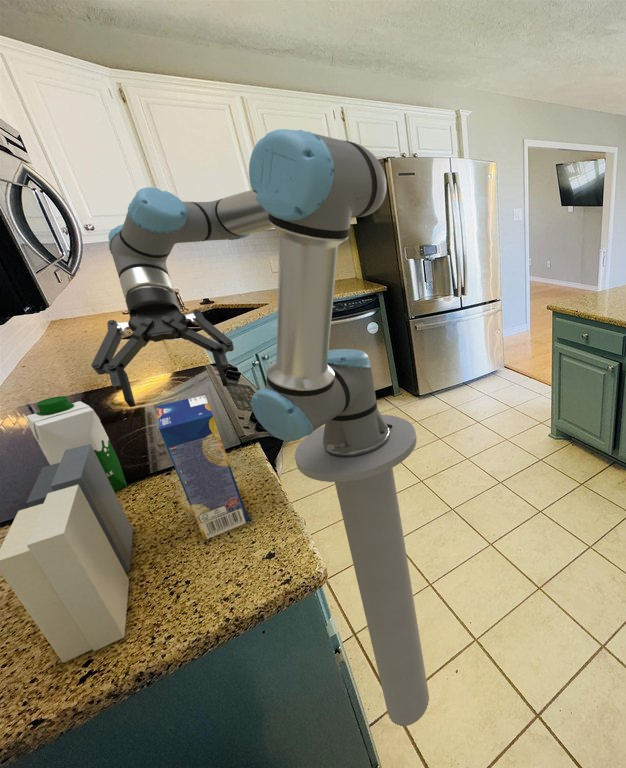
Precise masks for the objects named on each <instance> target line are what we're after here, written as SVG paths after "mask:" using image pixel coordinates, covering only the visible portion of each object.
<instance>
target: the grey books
mask: <svg viewBox="0 0 626 768" xmlns="http://www.w3.org/2000/svg"><path fill="white" fill-rule="evenodd" d="M75 485H79V486H80V488H81V490H82V492H83V494H84V496H85V498H86V499H87V501H88V503H89V505H90V507H91V509H92V511H93V513H94V515H95V516H96V518H97V520H98V522H99V524H100V526H101V528H102V530H103V532H104V533H105V535H106V537H107V539H108V541H109V543H110V545H111V547H112V549H113V550H114V552H115V554H116V556H117V558H118V560H119V562H120V564H121V565H122V567H123V569H124V571H125V573H126V574H127V573H130V571H131V563H132V550H133V539H134V538H133V536H134V528H133V526H132V524H131V521H130V520H129V519H128V516H127V515H126V513H125V511H124V510H125V509H123V507H122V504H121V502H120V500H119V498H118V496H117V494H116V491H114V490H113V488H112V486H111V484H110V482H109V480H108V478H107V476H106V474H105V472H104V470H103V468H102V466H101V464H100V462H99V459H98V457H97V455H96V453H95V451H94V449H93V447H92V445H91V444H88V445H84V446H80V447H76V448H72V449H68V450H65V452H64V455H63V457H62V459H61V462H60V463H56V464H53V465H50V464H49V465H46V466H42V468H41V470H40V472H39V474H38V476H37V479H36V481H35V483H34V485H33V488H32V489H31V491H30V493H29V495H28V498H27V500H26V502H25V504H26V505H27V506H28V507H27V508H30V507H33V506H36V505H40V504H43V503H44V501H45V499H46V496H47V494H48V493H51V492H54V491H58V490H61V489H65V488H68V487H72V486H75Z"/></svg>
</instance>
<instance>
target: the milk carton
mask: <svg viewBox="0 0 626 768" xmlns="http://www.w3.org/2000/svg"><path fill="white" fill-rule="evenodd" d="M36 406H37V409H38V410H39V411H37V412H35V413H32V414H28V415H26V419H27V422H28V425H29V428H30V430H31V432H32V434H33V436H34V438H35V440H36V441H37V443H38V447H40V450H41V451H42V453H43V455H44V457H45V458H46V461H47V462H48V464H49V465H53V464H56V463H60V462H61V459H62V457H63V455H64V452H65V450H68V449H72V448H76V447H80V446H84V445H88V444H91V445H92V447H93V449H94V451H95V453H96V455H97V457H98V459H99V462H100V464H101V466H102V468H103V470H104V472H105V474H106V476H107V478H108V480H109V482H110V484H111V486H112V488H113V490H114V492H116V491H119V490H122V489H123V488H126V487H128V485H127V480H126V478H125V475H124V472H123V470H122V466H121V462H120V460H119V457H118V456H117V453H116V451H115V449H114V446H113V445H112V443H111V441H110V438H109V436H108V434H107V433H106V429H105V427H104V426H103V424H102V422H101V418H100V417H99V415H97V413H96V412H95V409H93V408H92V407H91V406H90V405H88V404H86V403H84V402H83V401H81V400H79V401H75V402H71V403H70V401H69V399H68V397H67V396H66V395H65V396H64V395H60V396H54V397H49V398H45V399H43V400H40V401H38V402H37V403H36Z"/></svg>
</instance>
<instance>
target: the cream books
mask: <svg viewBox="0 0 626 768" xmlns="http://www.w3.org/2000/svg"><path fill="white" fill-rule="evenodd" d="M0 574H1V576H2V577H3V579H4V580H5V581H6V583H7V584H8V586H9V587H10V589H11V590H12V591H13V593H14V594H15V596H16V597H17V599H18V600H19V601H20V603H21V604H22V606H23V607H24V609H25V610H26V612H27V614H29V616H30V618H31V619H32V621H34V623H35V625H36V627H38V629H39V631H40V632H41V633H42V634H43V636H44V638H45V640H46V641H47V642H48V643H49V645H50V646H51V648H52V649H53V651H54V652H55V654H56V655H57V656H58V658H59V659H60V661H61V662H62V663H63V664H64V663H66V662H68V661H71V660H73V659H75V658H77V657H79V656H81V655H84V654H86V653H88V652H90V651H93V652H96V651H98V650H100V649H102V648H105V647H107V646H109V645H111V644H113V643H115V642H117V641H119V640H122V639H124V638H125V637H126V636H125V635H126V623H127V610H128V600H129V587H130V585H129V584H130V579H129V577H128V575H127V573H125V571H124V569H123V567H122V565H121V564H120V562H119V560H118V558H117V556H116V554H115V552H114V550H113V549H112V547H111V545H110V543H109V541H108V539H107V537H106V535H105V533H104V532H103V530H102V528H101V526H100V524H99V522H98V520H97V518H96V516H95V515H94V513H93V511H92V509H91V507H90V505H89V503H88V501H87V499H86V498H85V496H84V494H83V492H82V490H81V488H80V486H79V485H75V486H72V487H68V488H65V489H61V490H58V491H54V492H51V493H48V494H47V496H46V499H45V501H44V503H43V504H40V505H36V506H33V507H30V508H29V507H26V508H22V509H19V510H18V511H17V512H16V515H15V517H14V519H13V521H12V524H11V526H10V527H9V529H8V532H7V533H6V535H5V538H4V540H3V542H2V544H1V546H0Z"/></svg>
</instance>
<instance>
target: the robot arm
mask: <svg viewBox="0 0 626 768" xmlns="http://www.w3.org/2000/svg"><path fill="white" fill-rule="evenodd" d="M248 177H249V178H248V179H249V184H250V187H251V189H250V190H246V191H242V192H239V193H236V194H233V195H229V196H226V197H222V198H220V199H216V200H215V199H214V200H212V201H182V200H181V199H180V198H179V197H178V196H176V195H175V194H173V193H171V192H169V191H167V190H161V189H159V188H158V187H153V186H147V187H143V188H140V189H138V190H137V192H136V193H135V195H134V197H133V198H132V200H131V201H130V203H129V204H128V207H127V213H126V216H125V219H124V222H123V224H119V225H117V226H116V227H114V228H112V229H111V230H110V231H109V232H108V238H107V239H108V250H109V251H110V254H111V255H112V260H113V262H114V263H113V264H114V266H115V269H116V272H117V276H118V279H119V284H120V287H121V291H122V294H123V297H124V299H125V304H126V307H127V311H128V315H129V320H128V321H126V322H125V321H124V322H117V321H116V320H115V319H109V320H108V321H107V322H106V323H107V332H106V334H105V336H104V338H103V339H102V342H101V344H100V347H99V348H98V351H97V352H96V354H95V357H94V358H93V360H92V362H91V368H92V369H93V370H94V372H95V373H96V374H97V375H100V376H102V375H105V374H107V375H109V380H110V383H111V386H112V387H113V388H114V389H115V390H116V391H121V392H122V396H123V399H124V402H125V403H126V404H127V405H128V407H129V408H134V407H136V406H137V405H136V401H135V398H134V395H133V391H132V387H131V383H130V379H129V376H128V373H127V372H126V370H125V369H126V367H128V365H129V364H130V363H131V362H132V361H133V359H134V358H135V357H136V356H137V354H138V353H139V352H140V351H141V350H142V348H145V347H146V346H147V345H148V344H149V343H150V341H151V342H154V343H158V342H162V341H164V340H166V341H170V340H176V338H177V337H178V338H180V339H182V340H185V341H189V342H190V343H192V344H194V345H197V346H198V347H201V348H202V349H205V350H206V351H208V352H211V354H212V357H213V361H214V363H215V366H216V369H217V372H218V375H219V378H220V381H221V383H222V387H224V388H225V387H228V386H229V385H228V381H227V377H226V374H225V372H224V370H227V369H229V367H230V364H229V361H228V359H227V356H226V354H227V353H228V352H233V351H234V350H235V347H234V343H233V341H232V340H231V339H230V338H229V337H228V336H227V335H225V334H224V333H223V332H222V331H220V330H219V329H218V328H217V327H216V326H215V325H213V324H212V323H211V322H210V321H209V320H208V319H206V318H205V317H204V315H203V312H202V311H201V310H200V309H197V308H196V309H194V310H193V312H192V313H187V314H184V313H183V312H182V311H181V308H180V304H179V301H178V298H177V296H176V293H175V292H176V291H175V289H174V287H173V282H172V280H171V279H172V278H171V276H170V275H169V271H168V268H167V259H168V258H169V256H170V254H171V252H172V250H173V248H174V247H175V245H176V244H182V243H183V244H185V243H197V242H208V241H226V240H229V241H236V240H241V239H246V238H247V237H249V236H250V235H251V234H254V233H258V232H262V231H268V230H271V229H274V230H275V231H276V232H277V233H278V237H279V238H278V277H277V278H278V279H277V281H278V282H277V323H276V324H277V325H276V360H275V361H273V362H272V363H270V365H269V366H268V367H267V369H266V384H265V385H266V386H265V387H264V388H260V389H258V390H257V391H256V392H255V393H253V395H252V397H251V401H250V403H251V405H250V406H251V409H252V412H253V415H254V417H255V419H256V420H257V421H258V423H259V424H260V425H261V426H262V428H264V430H265V431H267V432H268V433H269V434H271V435H272V436H273V437H275V438H276V439H279V440H281V441H285V442H296V441H298V440H301V439H304V438H306V437H307V436H308V435H310V434H312V432H314V431H316V430H317V429H319V428H321V427H323V426H325V428H324V435H323V446H324V450H325V451H326V453H328V454H329V455H331V456H335V457H341V458H349V457H357V456H362V455H365V454H369V453H371V452H374V451H376V450H378V449H379V448H381V447H382V446H384V445H385V444H386V443H387V441H388V440H389V437H390V434H389V428H392V425H390V424H387V423H386V422H385V420H384V419H383V417H382V415H383V414H382V413H381V411H380V410H379V408H378V402H377V395H376V390H375V384H374V378H373V371H372V369H373V367H372V366H371V361H370V356H369V355H368V354H367V353H366V352H365V351H363V350H360V349H353V348H337V349H330V339H331V328H332V319H333V318H332V316H333V306H334V305H333V304H334V294H335V284H336V275H337V274H336V273H337V261H338V250H339V246H340V245H341V244H342V243H344V242H345V241H347V240H348V239H349V238H350V229H351V222H352V221H351V220H352V218H353V219H354V218H361V217H362V218H363V217H366V216H369V215H371V214H373V213H374V212H376V211H377V210H378V209H379V208H381V206H382V204H383V202H384V200H385V198H386V194H387V190H388V189H387V186H388V185H387V178H386V177H387V176H386V173H385V171H384V168H383V165H382V164H381V162H380V161H379V160H378V158H377V157H376V155H374V153H372V152H371V151H370V150H369V149H367V148H366V147H364V146H363V145H360V144H359V143H357V142H354V141H348V140H344V139H343V140H342V139H338V138H334V137H330V136H325V135H321V134H317V133H313V132H311V131H306V130H303V129H297V130H296V129H295V130H294V129H287V128H280V129H274V130H272V131H269V132H267V133H266V134H265V136H264V137H261V138H260V139H259V140H258V141H257V143H256V144H255V145H254V147H253V149H252V151H251V154H250V158H249V163H248ZM189 322H191V323H192V324H193V325H195V326H198V327H199V328H200V329H201V330H202V331H204V333H206V334H207V335H208V336H209V337H210V338H208V337H206V336H204V335H202V334H201V333H198V332H197V331H195V330H193V329H190V328H189V326H187V324H188V323H189ZM129 330H131V331H132V333H131V337H130V338H129V339H128V340H127V342H126V343H125V344H124V345H123V346H122V347H121V348H120V349H119V350H118V347H119V346H120V344H121V341H122V336H125V335H126V333H127V332H128V331H129ZM211 338H212V339H213V340H212V339H211ZM117 350H118V351H117ZM116 352H117V353H116ZM115 353H116V354H115ZM388 427H389V428H388Z"/></svg>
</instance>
